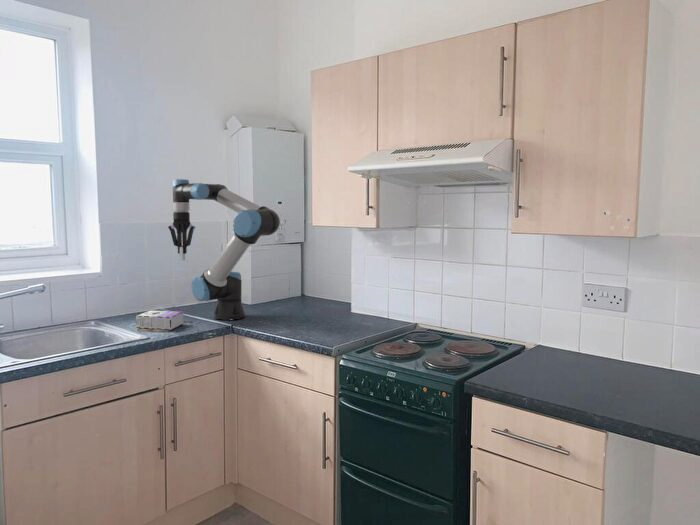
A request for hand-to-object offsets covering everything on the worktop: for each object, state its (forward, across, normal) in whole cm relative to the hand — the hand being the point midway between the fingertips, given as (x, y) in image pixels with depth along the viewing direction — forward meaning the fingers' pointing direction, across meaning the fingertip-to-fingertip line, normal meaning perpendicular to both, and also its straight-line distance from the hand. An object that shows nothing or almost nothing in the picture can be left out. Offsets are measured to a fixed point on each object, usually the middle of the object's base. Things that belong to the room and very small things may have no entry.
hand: (182, 260), depth 271 cm
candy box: (+25, -7, +22) cm, 34 cm away
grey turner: (+29, 0, +10) cm, 30 cm away
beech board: (+28, +2, +22) cm, 36 cm away
